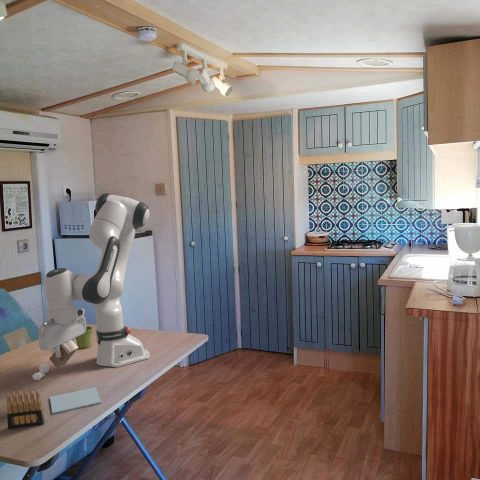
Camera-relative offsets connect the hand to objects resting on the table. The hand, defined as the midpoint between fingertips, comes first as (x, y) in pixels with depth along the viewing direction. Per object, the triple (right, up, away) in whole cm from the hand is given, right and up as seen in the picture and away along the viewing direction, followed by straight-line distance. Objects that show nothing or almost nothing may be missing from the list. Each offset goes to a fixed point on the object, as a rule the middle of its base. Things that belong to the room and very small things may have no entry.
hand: (65, 353), depth 173 cm
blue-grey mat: (+3, -17, +1) cm, 17 cm away
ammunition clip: (-7, -20, -15) cm, 26 cm away
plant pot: (-12, -11, +61) cm, 63 cm away
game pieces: (-19, -16, +27) cm, 37 cm away
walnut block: (-3, -3, +2) cm, 5 cm away
